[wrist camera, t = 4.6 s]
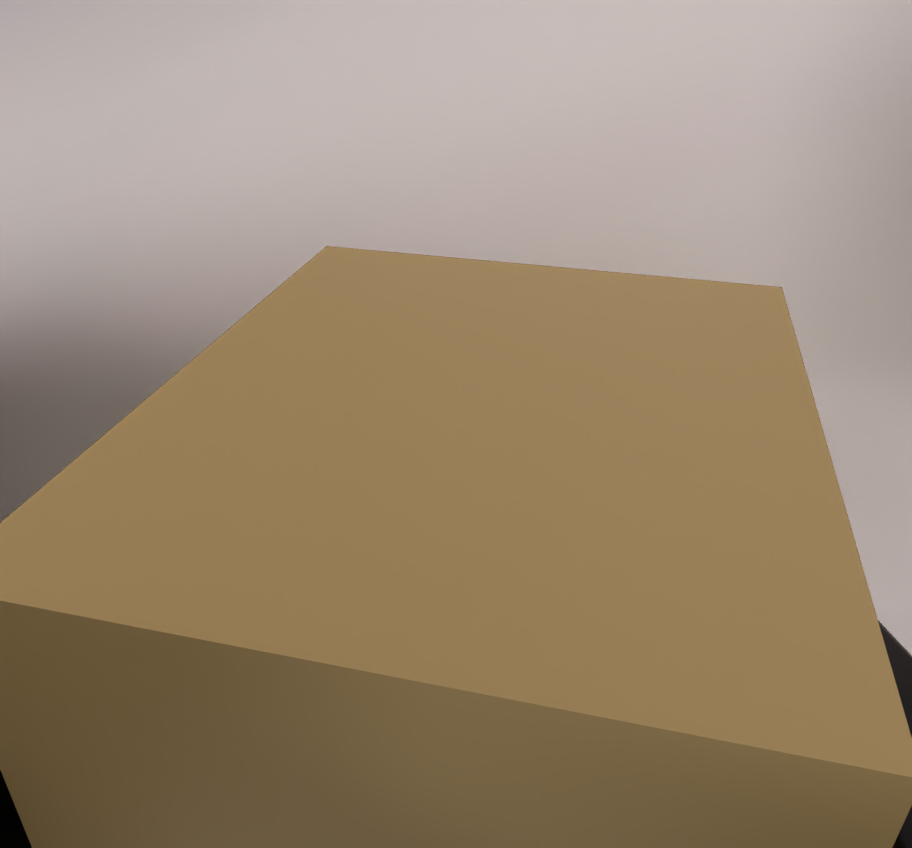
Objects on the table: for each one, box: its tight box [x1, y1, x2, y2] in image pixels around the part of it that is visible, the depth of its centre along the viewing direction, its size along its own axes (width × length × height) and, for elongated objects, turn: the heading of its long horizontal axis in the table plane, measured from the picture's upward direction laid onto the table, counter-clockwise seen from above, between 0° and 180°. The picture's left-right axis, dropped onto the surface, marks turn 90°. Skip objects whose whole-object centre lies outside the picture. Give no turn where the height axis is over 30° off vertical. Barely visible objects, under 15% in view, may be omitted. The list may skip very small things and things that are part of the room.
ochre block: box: [0, 246, 912, 848], centre depth 8 cm, size 5×5×6 cm
